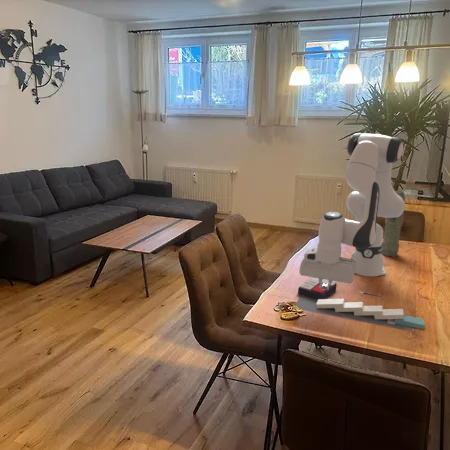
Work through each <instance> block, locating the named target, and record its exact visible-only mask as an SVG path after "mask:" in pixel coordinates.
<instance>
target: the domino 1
mask: <svg viewBox="0 0 450 450" xmlns="http://www.w3.org/2000/svg"><path fill="white" fill-rule="evenodd" d="M344 303H345V298H326V299H318V301H317V304H316V306H317V308H344Z"/></svg>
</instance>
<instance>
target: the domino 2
mask: <svg viewBox="0 0 450 450" xmlns="http://www.w3.org/2000/svg"><path fill="white" fill-rule="evenodd" d="M363 306H364V302H363V301H357V302H356V301H354V302H353V301H351V302H349V301H347V302H345V303H344V308H335V312H357V311H363Z"/></svg>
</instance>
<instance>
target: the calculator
mask: <svg viewBox="0 0 450 450" xmlns="http://www.w3.org/2000/svg"><path fill="white" fill-rule="evenodd" d="M328 281H329V280H326V279H323V280H322V282H323V284H327V285H328V283H329V282H328ZM337 284H338V283H337V282H336V281H332V284H331V285H330V286H329V290H323V289H321V285H320V283H319V278H314V277H310V279H308V280H307V281H305V282H304V283H303V284H301V285H300V286H298V288H297V295H299V296H303V297H309V298H313V299H316V300H318V299H328V297H329V296H330V295H332V294H334V293H335V292H336V291H337Z"/></svg>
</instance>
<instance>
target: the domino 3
mask: <svg viewBox="0 0 450 450" xmlns="http://www.w3.org/2000/svg"><path fill="white" fill-rule="evenodd" d="M383 307H384V306H383V305H363V311H357V312H354V316H356V315H383V309H384V308H383Z"/></svg>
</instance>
